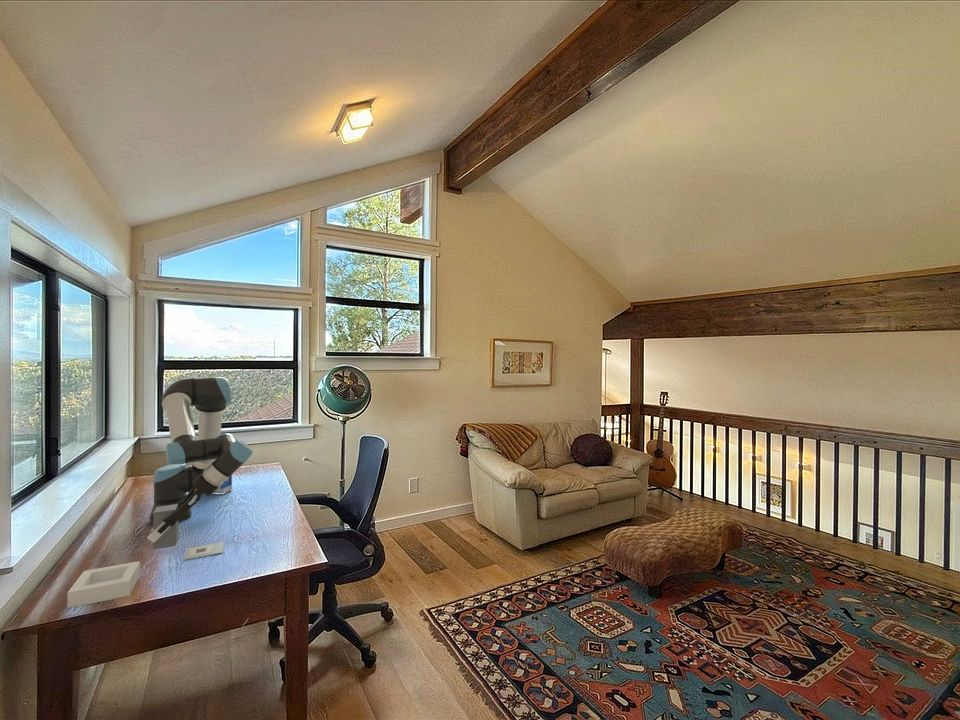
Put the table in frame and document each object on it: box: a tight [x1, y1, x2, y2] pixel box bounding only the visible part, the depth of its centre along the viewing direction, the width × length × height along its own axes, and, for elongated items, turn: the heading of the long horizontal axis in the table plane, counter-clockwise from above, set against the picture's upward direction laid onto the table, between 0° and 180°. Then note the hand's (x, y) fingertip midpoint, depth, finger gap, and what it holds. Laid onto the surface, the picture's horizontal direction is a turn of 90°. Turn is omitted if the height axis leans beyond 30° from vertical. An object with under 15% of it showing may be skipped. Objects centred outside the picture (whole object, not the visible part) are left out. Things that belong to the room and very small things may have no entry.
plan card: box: [182, 541, 225, 561], centre depth 160 cm, size 10×12×1 cm
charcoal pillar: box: [152, 504, 180, 550], centre depth 145 cm, size 6×6×12 cm
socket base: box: [67, 560, 141, 609], centre depth 133 cm, size 14×14×4 cm
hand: (152, 535), depth 144 cm, fingers closed on charcoal pillar, 6 cm apart
